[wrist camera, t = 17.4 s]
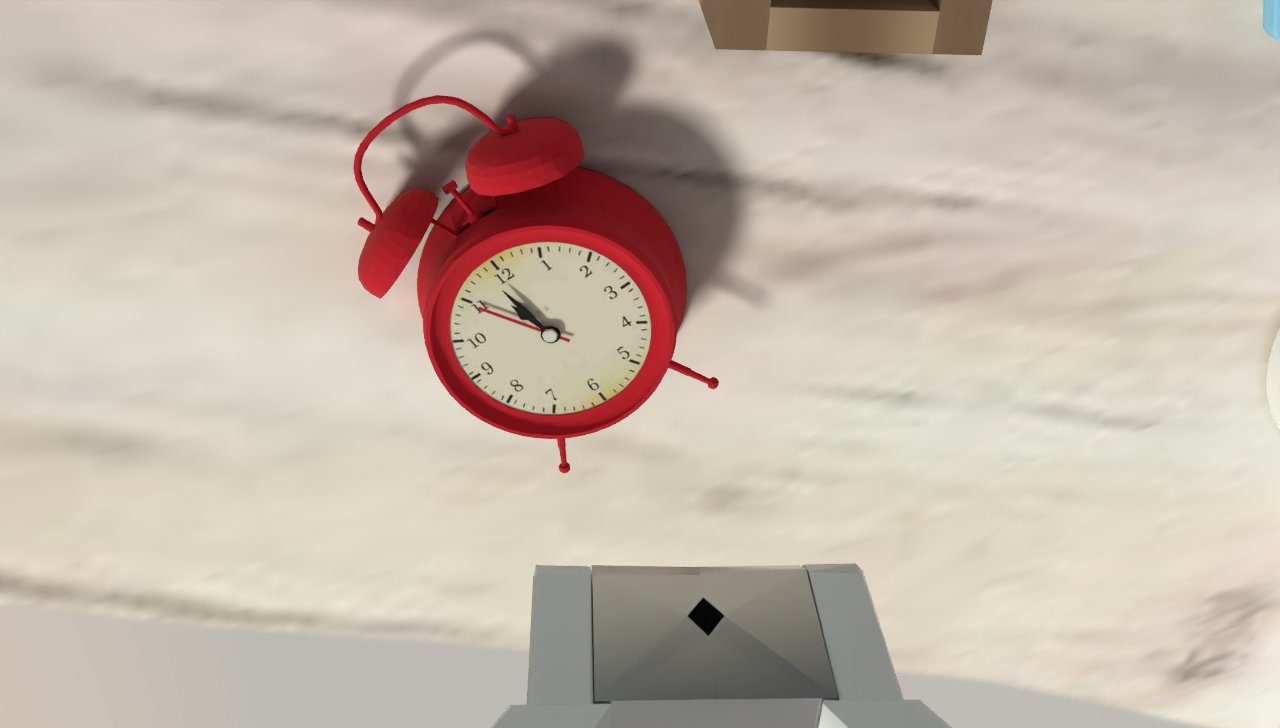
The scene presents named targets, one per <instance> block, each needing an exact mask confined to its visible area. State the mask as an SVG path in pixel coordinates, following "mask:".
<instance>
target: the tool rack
mask: <svg viewBox="0 0 1280 728" xmlns="http://www.w3.org/2000/svg"><path fill="white" fill-rule="evenodd" d="M699 3H700V6H701V8H702V11H703V14H704V17H705V20H706V23H707V25H708V28H709V31H710V34H711V37H712V40H713V43H714V45H715V48H716V49H733V50H777V51H821V52H865V53H909V54H953V55H982V50H983V45H984V40H985V35H986V30H987V25H988V20H989V15H990V10H991V5H992V0H699Z"/></svg>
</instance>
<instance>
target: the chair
mask: <svg viewBox="0 0 1280 728" xmlns="http://www.w3.org/2000/svg"><path fill="white" fill-rule="evenodd" d="M1263 27H1264V30H1265V32H1266V33H1267V34H1268V35H1270V36H1271V37H1273V38H1274V39H1276V40H1277V41H1279V42H1280V0H1264V15H1263Z"/></svg>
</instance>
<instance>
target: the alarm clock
mask: <svg viewBox="0 0 1280 728" xmlns="http://www.w3.org/2000/svg"><path fill="white" fill-rule="evenodd" d="M439 103H445V104H451V105H456V106H458V107H461V108H463V109H465V110H467V111H468V112H470V113H471V114H473V115H474V116H476V117H477V118H479V119H480V120H481V121H482V122H484V123H485V124H486V125H487V126H488V127H490V128H491V129H492V130H493V131H492V132H490V133H489V134H487V135H486V136H484V137H483V138H481V139H480V140H479V141H478V142H477V143H475V145H474V146H473V147H472V149H471V150H470V151H469V153H468V156H467V161H466V174H467V179H468V182H469V185H470V188H469V189H468V190H466V191H465V192H464V193H462V194H461V195H460V194H459V193H458V192H457V191H456V188H457V187H458V186H457V184H456V182H455V181H453V180H452V181H451V182H449V183H448V184H446V185H445V186H443V187H442V189H443V191H444V192H445V194H449V193H450V192H451V193H452V195H453V196H454V197H455V198H456V199H455V200H454V201H453V202H452V203H451V204H449V205H448V207H447V208H446V209H445V210H444V212H443V213H442V214H441V216H440V217H439V219H438V220H437V221H436V220H435V219H433V216H434V213H435V211H436V208H437V205H438V200H439V198H438V197H436V196H435V195H433V194H432V193H430V192H427V191H425V190H422V189H410V190H408V191H405V192H403V193H402V194H400V195H399V196H398V197H396V198H395V200H394V201H393V202H392V203H391V204H390V205H389V206H388V207H387V208H386V209H385V211H384V212H383V213H382V211H381V209H380V207H379V206H378V204H377V203H376V201H375V200H374V198H373V196H372V195H371V193H370V192H369V190H368V188H367V186H366V184H365V182H364V180H363V176H362V172H361V163H362V158H363V155H364V153H365V151H366V149H367V148H368V146H369V144H370V143H371V142H372V141H373V140H374V139H375V137H376V136H377V135H378V134H379V133H380V132H381V131H382V130H384V129H385V128H386V127H387V126H389V125H390V124H391V123H392V122H393V121H395V120H396V119H398V118H400V117H401V116H403V115H405V114H407V113H408V112H410V111H412V110H414V109H417V108H420V107H423V106H426V105H429V104H439ZM506 119H507V122H508V125H506V126H503V127H501V128H500V127H498V126H497V125H496V124H495V123H494V122H493V121H492V120H491V119H490V118H489V117H488V116H487V115H486V114H484V113H483V112H482V111H480V110H479V109H478V108H476V107H475V106H473V105H472V104H470V103H468V102H466V101H464V100H462V99H459V98H456V97H450V96H439V95H437V96H432V97H427V98H422V99H419V100H417V101H414V102H412V103H409V104H407V105H405V106H403V107H402V108H400V109H399V110H397V111H395V112H394V113H392V114H390V115H389V116H387V117H386V118H385V119H383V120H382V121H381V122H380V123H379V124H378V125H377V126H376V127H375V128H374V129H372V130H371V131H370V132H369V133H368V135H367V136H366V137H365V139H364V140H363V141H362V143H361V144H360V146H359V148H358V150H357V152H356V155H355V160H354V168H353V169H354V174H355V179H356V182H357V184H358V186H359V188H360V190H361V192H362V194H363V195H364V197H365V198H366V200H367V201H368V203H369V204H370V206H371V207H372V209H373V210H374V212H375V214H376V221H375V225H374V224H373V223H371V222H369V221H367V220H365V219H364V218H363V217H362V218H360V219H359V221H358V225H359V226H361V227H363V228H364V229H366V230H367V231H369V232H370V234H369V236H368V238H367V240H366V243H365V245H364V248H363V250H362V253H361V256H360V259H359V265H358V275H359V280H360V282H361V283H362V285H363V287H364V288H365V289H366V290H367V291H369V292H370V293H371V294H373V295H374V296H376V297H378V298H382V297H383V296H384V295H385V294H386V293H387V292H388V290H389V289H390V288H391V286H392V285H393V284H394V282H395V281H396V280H397V278H398V277H399V275H400V274H401V272H402V271H403V269H404V268H405V266H406V265H407V263H408V262H409V260H410V259H411V257H412V255H413V254H414V252H415V250H416V249H417V247H418V245H419V244H420V242H421V240H422V238H423V236H424V234H425V232H426V231H427V229H428V227H429V225H430V223H433V224H434V226H433V228H432V230H431V232H430V233H429V236H428V238H427V240H426V243H425V246H424V249H423V252H422V255H421V259H420V264H419V269H418V279H417V292H418V301H419V307H420V311H421V315H422V318H423V332H424V339H425V344H426V348H427V351H428V355H429V358H430V360H431V363H432V365H433V367H434V370H435V372H436V374H437V376H438V377H439V379H440V381H441V383H442V384H443V385H444V387H445V388H446V389H447V391H448V392H449V393H450V395H451V396H452V397H453V398H454V399H455V400H456V401H457V402H458V403H459V404H460V405H461V406H462V407H464V408H465V409H466V410H467V411H469V412H470V413H471V414H473V415H474V416H476V417H477V418H479V419H480V420H482V421H484V422H486V423H488V424H490V425H492V426H494V427H496V428H499V429H501V430H504V431H507V432H510V433H514V434H517V435H521V436H527V437H533V438H545V439H557V441H558V447H559V450H560V456H561V462H562V463H561V464H560V465H559V470H560V471H561V472H562V473H567V472H568V471H569V470H570V465H569V464H568V463H567V461H566V450H565V445H566V444H565V438H571V437H577V436H582V435H586V434H590V433H594V432H597V431H599V430H602V429H605V428H607V427H610V426H612V425H614V424H616V423H617V422H619V421H621V420H623V419H624V418H626V417H628V416H629V415H630V414H632V413H633V412H634V411H635V410H637V409H638V408H639V407H640V406H641V405H642V404H643V403H644V402H645V401H646V400H647V399H648V398H649V397H650V396H651V395H652V393H653V392H654V391H655V390H656V388H657V387H658V385H659V384H660V382H661V380H662V378H663V376H664V375H665V373H666V371H667V369H668V368H671V369H673V370H675V371H677V372H680V373H682V374H684V375H687V376H690V377H693V378H695V379H697V380H700V381H702V382H705V383H707V384H708V387H709V388H711V389H715V388H717V386H718V383H719V381H718V380H717V378H714V377H712V378H711V379H709V378H707V377H705V376H703V375H700V374H698V373H696V372H694V371H692V370H691V369H690V368H688V367H685V366H683V365H681V364H679V363H677V362H675V361H672V360H671V359H672V356H673V353H674V349H675V345H676V336H677V332H678V329H679V327H680V324H681V321H682V318H683V314H684V309H685V303H686V289H687V288H686V275H685V269H684V264H683V259H682V255H681V252H680V249H679V247H678V244H677V242H676V240H675V238H674V236H673V234H672V232H671V230H670V228H669V227H668V225H667V224H666V222H665V221H664V219H663V218H662V217H661V215H660V214H659V213H658V212H657V211H656V210H655V209H654V208H653V207H652V205H651V204H650V203H648V202H647V201H646V200H645V199H644V198H643V197H641V196H640V195H639V194H637V193H636V192H635V191H634V190H632V189H631V188H629V187H627V186H626V185H624V184H622V183H620V182H618V181H616V180H614V179H612V178H611V177H608V176H606V175H603V174H601V173H598V172H594V171H591V170H587V169H583V168H578V167H577V166H578V165H579V163H580V162H581V160H582V159H583V157H584V151H583V146H582V142H581V139H580V137H579V135H578V133H577V131H576V130H575V129H574V128H573V127H572V126H571V125H570V124H568V123H567V122H565V121H562V120H559V119H554V118H548V117H546V118H531V119H526V120H522V121H518V122H516V119H515V116H514V115H513V114H511V115H508V116H507V117H506Z"/></svg>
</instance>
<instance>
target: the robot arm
mask: <svg viewBox="0 0 1280 728" xmlns="http://www.w3.org/2000/svg"><path fill="white" fill-rule="evenodd" d="M1266 388H1267V398H1268V403H1269V407H1270V411H1271V414H1272V417H1273V419H1274V421H1275V423H1276V425H1277V427H1278V429H1279V430H1280V328H1279V331H1278V333H1277V335H1276V338H1275V341H1274V343H1273V346H1272V350H1271V354H1270V357H1269V363H1268V368H1267V385H1266ZM491 728H952V727H951V726H950V725H949V724H948V723H946V722H945V721H944V720H943V719H942V718H940V717H939V716H938V715H937V714H936V713H935V712H934V711H932V710H931V709H930V708H929V707H928V706H927V705H925V704H924V703H923V702H922V701H921V700H904V699H903V696H902V693H901V689H900V686H899V683H898V680H897V677H896V674H895V671H894V667H893V664H892V661H891V658H890V655H889V652H888V649H887V645H886V642H885V639H884V636H883V633H882V630H881V627H880V623H879V620H878V617H877V614H876V611H875V608H874V605H873V602H872V598H871V595H870V592H869V589H868V586H867V583H866V580H865V576H864V573H863V571H862V570H861V569H860V568H859V567H858V565H857V564H817V565H803V566H802V567H801V566H799V565H797V566H725V567H657V566H601V565H592V571H590V567H587V566H542V565H536V569H535V573H534V577H533V592H532V612H531V632H530V652H529V674H528V692H527V705H510V706H509V707H508V708H507V710H506V711H505V712H504V713H503V714H502V715H501V717H500V718H499V719H498V720H497V721H496V722H495V724H494V725H493V726H492V727H491Z"/></svg>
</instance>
